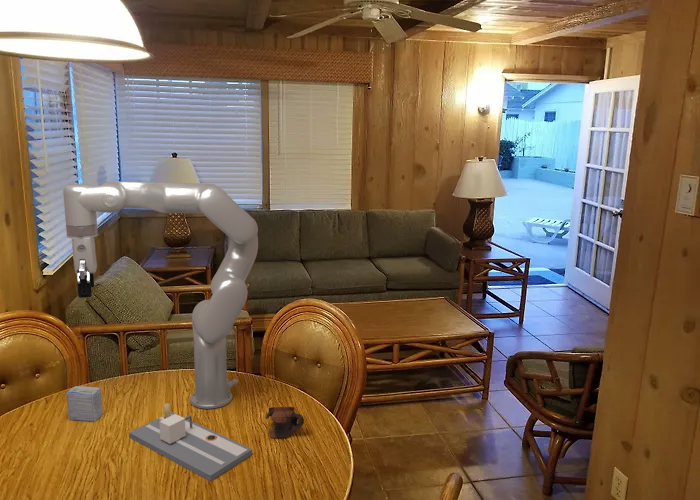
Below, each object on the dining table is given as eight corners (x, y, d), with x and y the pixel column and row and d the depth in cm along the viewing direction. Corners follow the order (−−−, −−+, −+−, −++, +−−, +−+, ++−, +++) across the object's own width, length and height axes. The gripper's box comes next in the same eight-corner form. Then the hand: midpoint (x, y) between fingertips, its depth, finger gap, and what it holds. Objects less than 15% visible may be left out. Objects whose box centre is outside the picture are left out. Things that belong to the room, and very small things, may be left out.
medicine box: (103, 414, 161) (101, 387, 159) (94, 422, 157) (92, 394, 155) (77, 412, 162) (75, 385, 160) (68, 420, 157) (65, 392, 156)
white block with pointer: (187, 424, 153) (186, 408, 152) (197, 429, 151) (196, 412, 150) (160, 438, 146) (159, 421, 145) (170, 443, 143) (169, 426, 142)
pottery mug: (258, 438, 152) (259, 407, 154) (276, 438, 160) (276, 408, 163) (297, 437, 147) (296, 405, 150) (313, 436, 155) (313, 406, 158)
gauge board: (172, 416, 161) (171, 398, 160) (252, 454, 143) (252, 434, 142) (129, 437, 150) (127, 417, 148) (210, 481, 132) (209, 459, 131)
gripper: (95, 236, 142) (99, 300, 146) (99, 225, 158) (103, 283, 161) (62, 237, 139) (68, 302, 143) (69, 225, 155) (74, 284, 159)
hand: (86, 292), depth 152 cm, fingers open, 9 cm apart
